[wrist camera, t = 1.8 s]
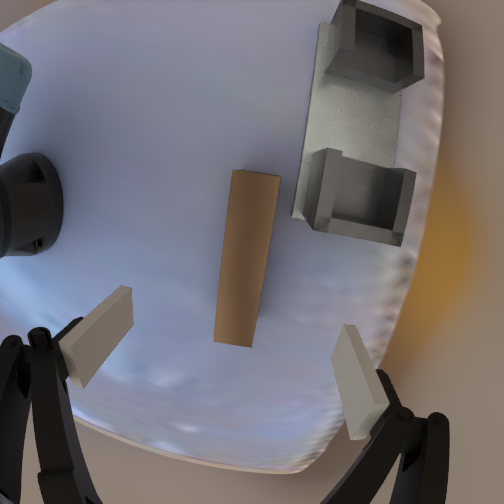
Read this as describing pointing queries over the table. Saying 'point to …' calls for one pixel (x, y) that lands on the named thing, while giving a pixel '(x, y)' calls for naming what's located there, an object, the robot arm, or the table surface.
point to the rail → (244, 255)
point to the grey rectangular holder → (359, 125)
